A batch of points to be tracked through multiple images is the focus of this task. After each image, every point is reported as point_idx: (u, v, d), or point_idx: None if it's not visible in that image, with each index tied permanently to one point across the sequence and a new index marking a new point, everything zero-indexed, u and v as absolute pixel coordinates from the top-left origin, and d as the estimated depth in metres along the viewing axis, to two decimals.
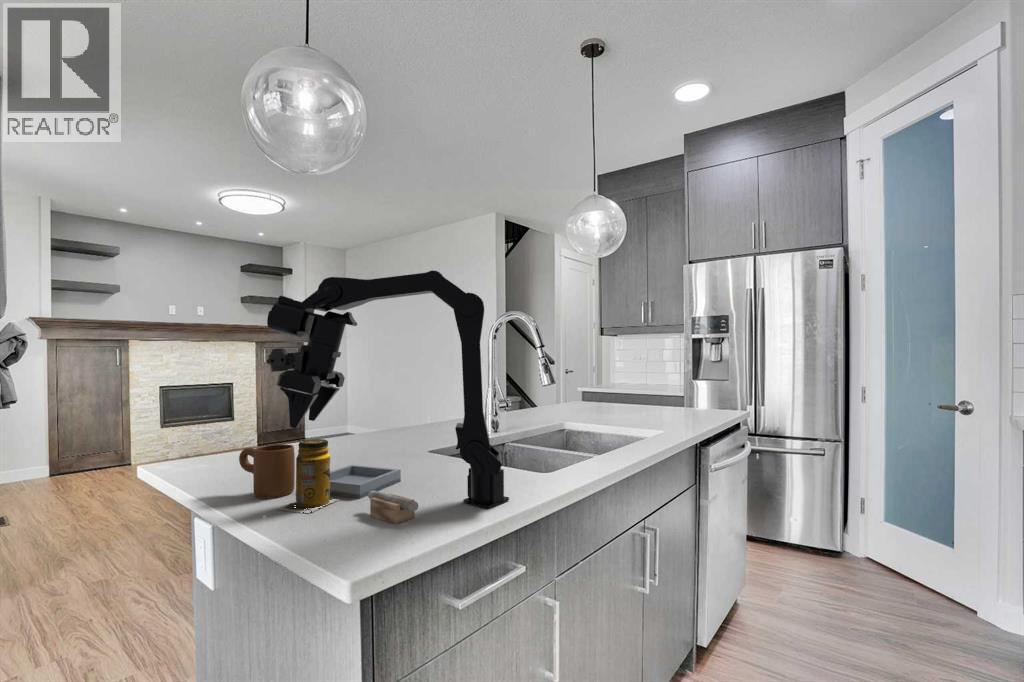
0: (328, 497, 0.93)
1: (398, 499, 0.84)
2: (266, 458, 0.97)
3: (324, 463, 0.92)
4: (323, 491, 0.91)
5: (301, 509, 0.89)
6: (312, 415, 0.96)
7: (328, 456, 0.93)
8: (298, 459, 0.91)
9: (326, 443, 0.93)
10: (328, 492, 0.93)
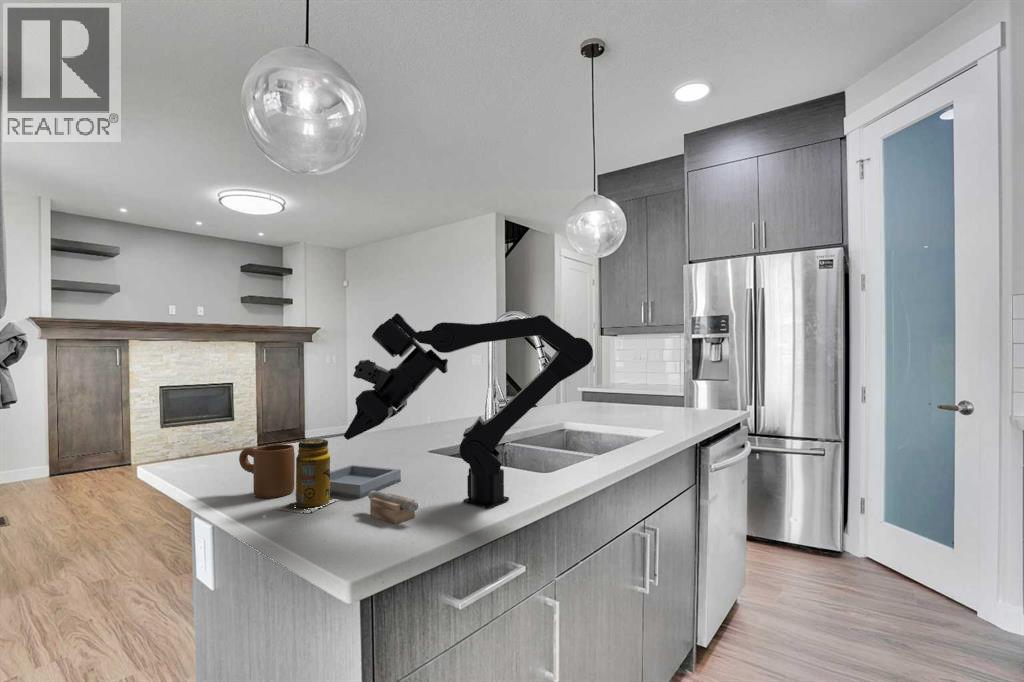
0: (328, 497, 0.93)
1: (398, 499, 0.84)
2: (266, 458, 0.97)
3: (324, 463, 0.92)
4: (323, 491, 0.91)
5: (301, 509, 0.89)
6: None
7: (328, 456, 0.93)
8: (298, 459, 0.91)
9: (326, 443, 0.93)
10: (328, 492, 0.93)
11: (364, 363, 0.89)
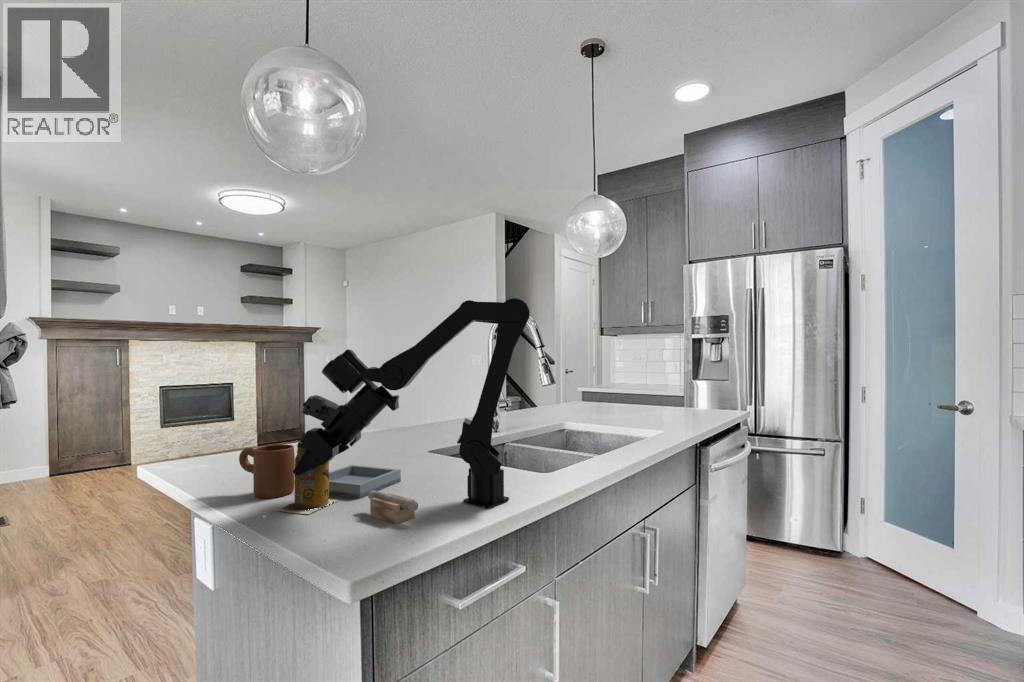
0: (327, 498, 0.92)
1: (398, 499, 0.84)
2: (266, 458, 0.97)
3: (323, 464, 0.91)
4: (322, 492, 0.91)
5: (300, 510, 0.89)
6: None
7: None
8: (297, 459, 0.90)
9: None
10: (327, 493, 0.92)
11: (312, 400, 0.89)
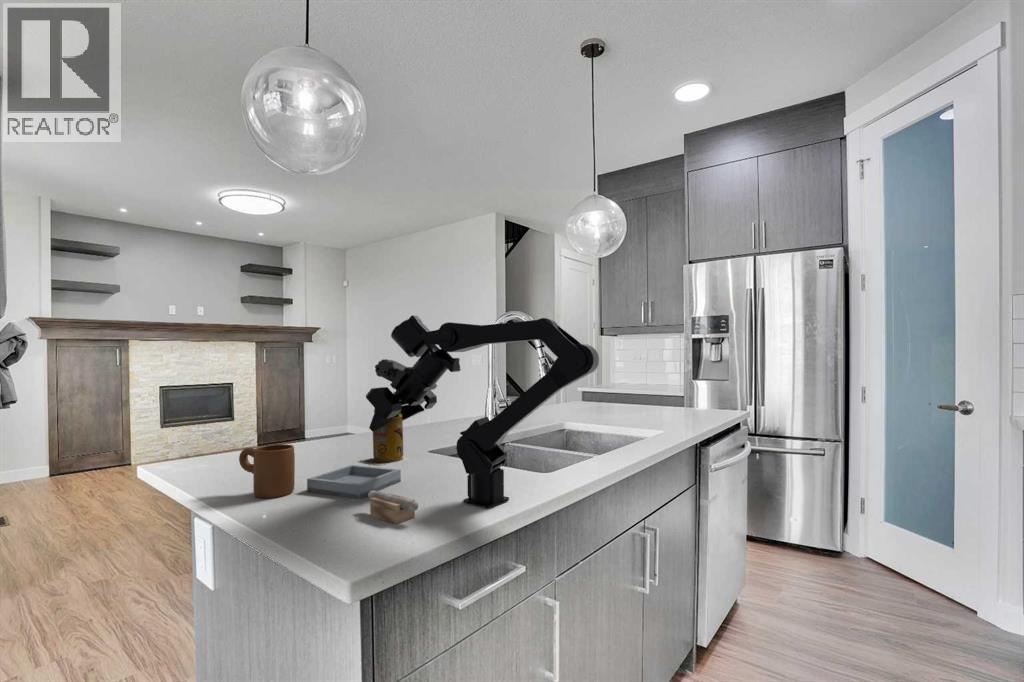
0: (400, 454, 1.00)
1: (398, 499, 0.84)
2: (266, 458, 0.97)
3: (394, 422, 0.99)
4: (394, 448, 0.98)
5: (375, 463, 0.97)
6: None
7: (399, 416, 1.00)
8: None
9: None
10: (400, 449, 1.00)
11: (380, 362, 0.97)
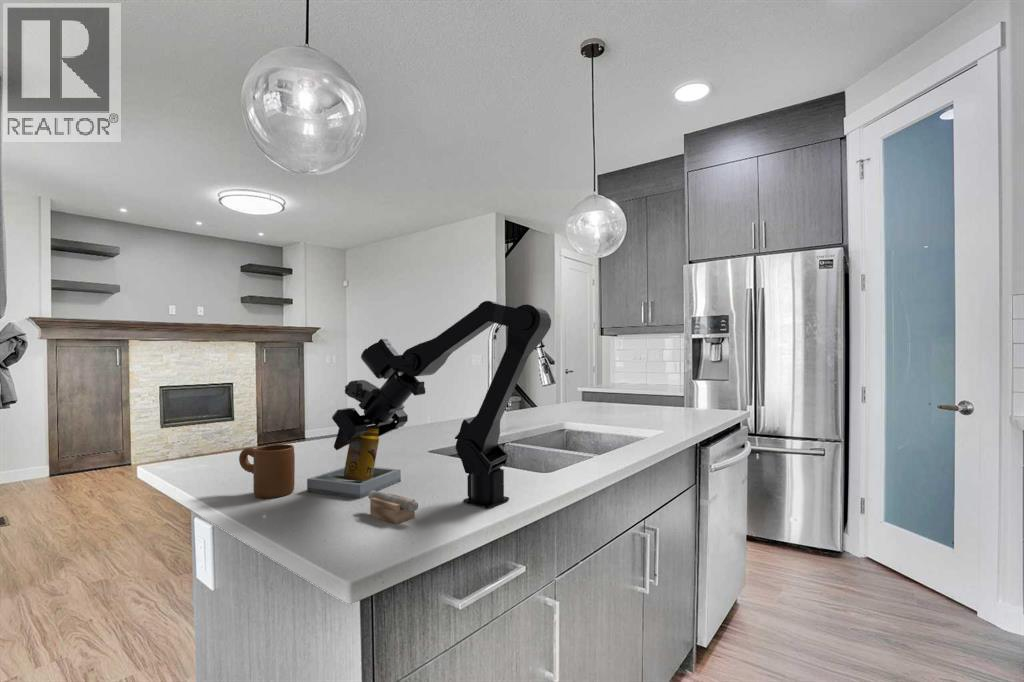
0: (369, 475, 1.04)
1: (398, 499, 0.84)
2: (266, 458, 0.97)
3: (369, 443, 1.04)
4: (364, 467, 1.03)
5: (343, 478, 1.02)
6: None
7: (375, 438, 1.05)
8: None
9: (376, 426, 1.06)
10: (370, 471, 1.04)
11: (349, 384, 1.01)
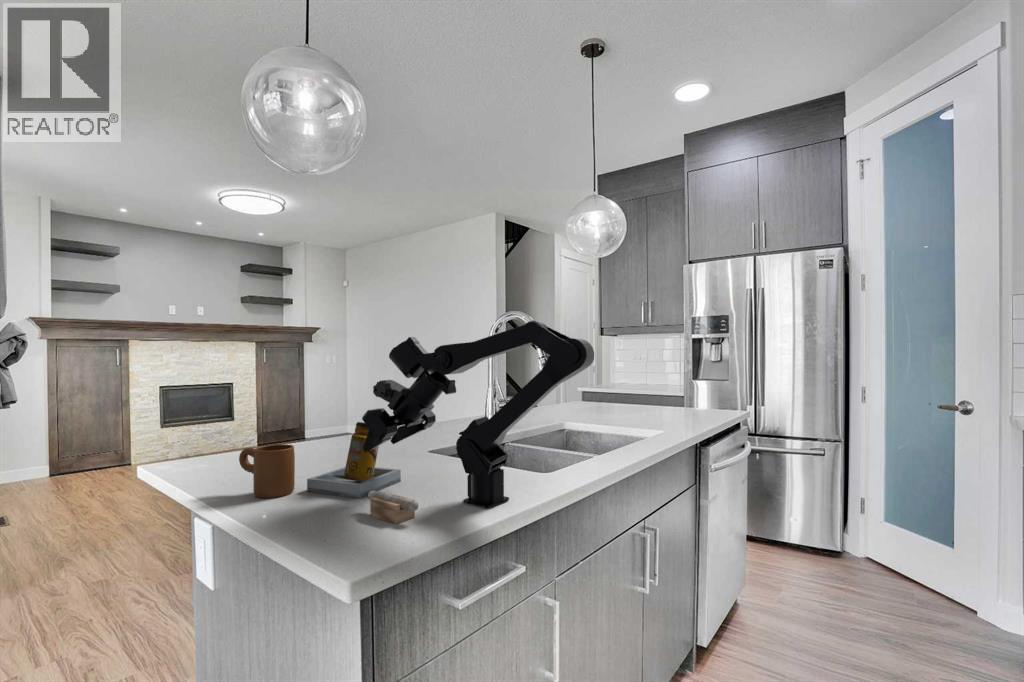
0: (369, 475, 1.04)
1: (398, 499, 0.84)
2: (266, 458, 0.97)
3: None
4: (364, 467, 1.03)
5: (343, 478, 1.02)
6: (394, 439, 1.07)
7: None
8: (352, 435, 1.05)
9: None
10: (370, 471, 1.04)
11: (378, 384, 0.98)
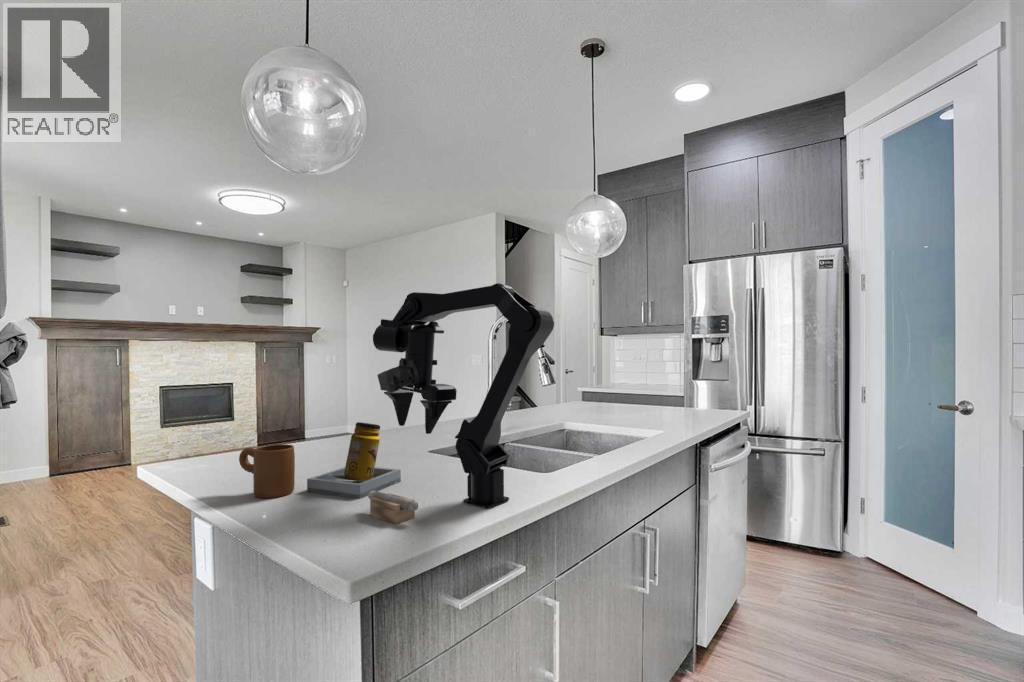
0: (369, 475, 1.04)
1: (398, 499, 0.84)
2: (266, 458, 0.97)
3: (370, 443, 1.04)
4: (364, 468, 1.03)
5: (343, 478, 1.02)
6: (402, 421, 1.04)
7: (376, 438, 1.05)
8: (352, 435, 1.05)
9: (376, 427, 1.06)
10: (370, 471, 1.04)
11: (401, 374, 0.93)
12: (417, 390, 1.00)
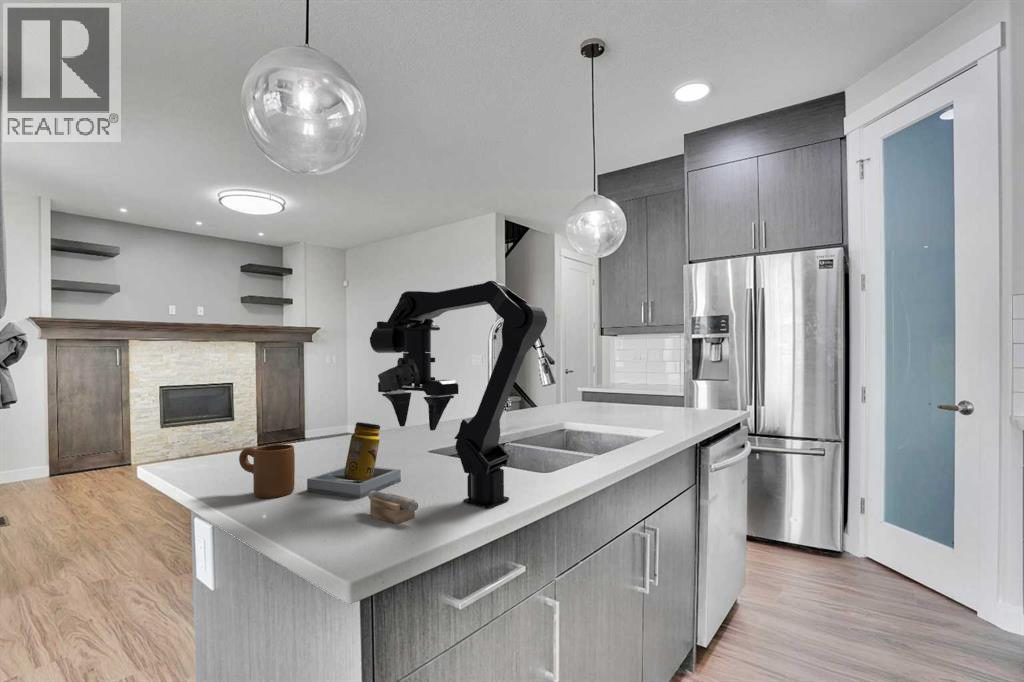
0: (369, 475, 1.04)
1: (398, 499, 0.84)
2: (266, 458, 0.97)
3: (370, 443, 1.04)
4: (364, 468, 1.03)
5: (343, 478, 1.02)
6: (403, 421, 1.04)
7: (376, 438, 1.05)
8: (352, 435, 1.05)
9: (376, 427, 1.06)
10: (370, 471, 1.04)
11: (404, 372, 0.93)
12: (417, 388, 1.00)
